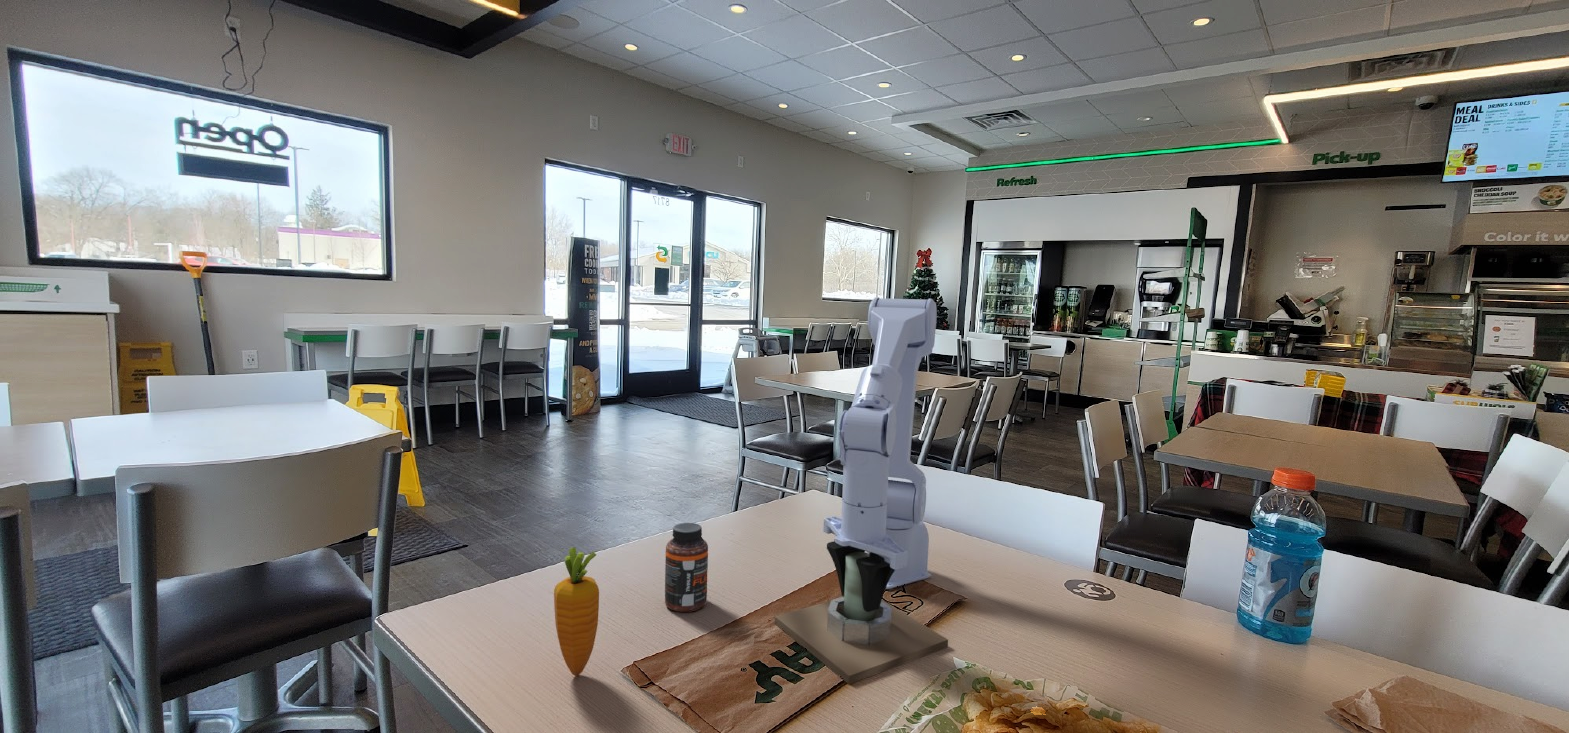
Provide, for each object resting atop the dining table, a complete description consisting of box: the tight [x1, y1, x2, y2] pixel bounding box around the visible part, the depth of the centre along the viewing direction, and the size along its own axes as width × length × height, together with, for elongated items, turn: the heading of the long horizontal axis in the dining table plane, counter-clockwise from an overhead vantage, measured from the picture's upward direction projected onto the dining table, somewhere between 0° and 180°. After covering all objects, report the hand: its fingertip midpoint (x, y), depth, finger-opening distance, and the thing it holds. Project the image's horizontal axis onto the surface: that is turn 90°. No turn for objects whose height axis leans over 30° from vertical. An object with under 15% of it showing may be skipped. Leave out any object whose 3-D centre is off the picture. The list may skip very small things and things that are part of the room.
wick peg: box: [844, 552, 875, 622], centre depth 84 cm, size 4×4×8 cm
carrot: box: [553, 546, 600, 677], centre depth 74 cm, size 5×5×15 cm
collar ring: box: [827, 596, 891, 645], centre depth 85 cm, size 8×8×2 cm
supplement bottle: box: [664, 522, 709, 613], centre depth 92 cm, size 6×6×11 cm
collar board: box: [774, 599, 949, 685], centre depth 85 cm, size 16×16×1 cm
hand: (860, 602), depth 85 cm, fingers closed on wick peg, 4 cm apart
